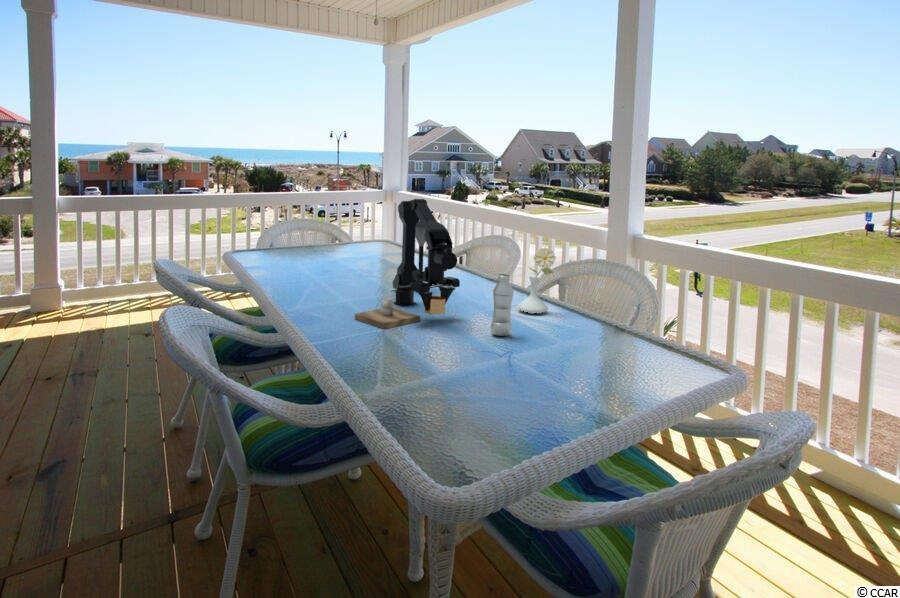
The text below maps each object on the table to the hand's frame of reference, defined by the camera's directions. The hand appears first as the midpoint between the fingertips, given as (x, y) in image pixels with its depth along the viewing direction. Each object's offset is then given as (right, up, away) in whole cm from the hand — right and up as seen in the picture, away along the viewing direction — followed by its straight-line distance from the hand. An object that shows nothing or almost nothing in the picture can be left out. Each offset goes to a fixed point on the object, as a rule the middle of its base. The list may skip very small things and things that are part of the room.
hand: (434, 308), depth 210 cm
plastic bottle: (+22, -9, -13) cm, 27 cm away
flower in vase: (+37, -2, +19) cm, 42 cm away
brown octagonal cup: (0, -1, 0) cm, 1 cm away
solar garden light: (-7, +6, +45) cm, 46 cm away
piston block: (-16, -4, 0) cm, 17 cm away
